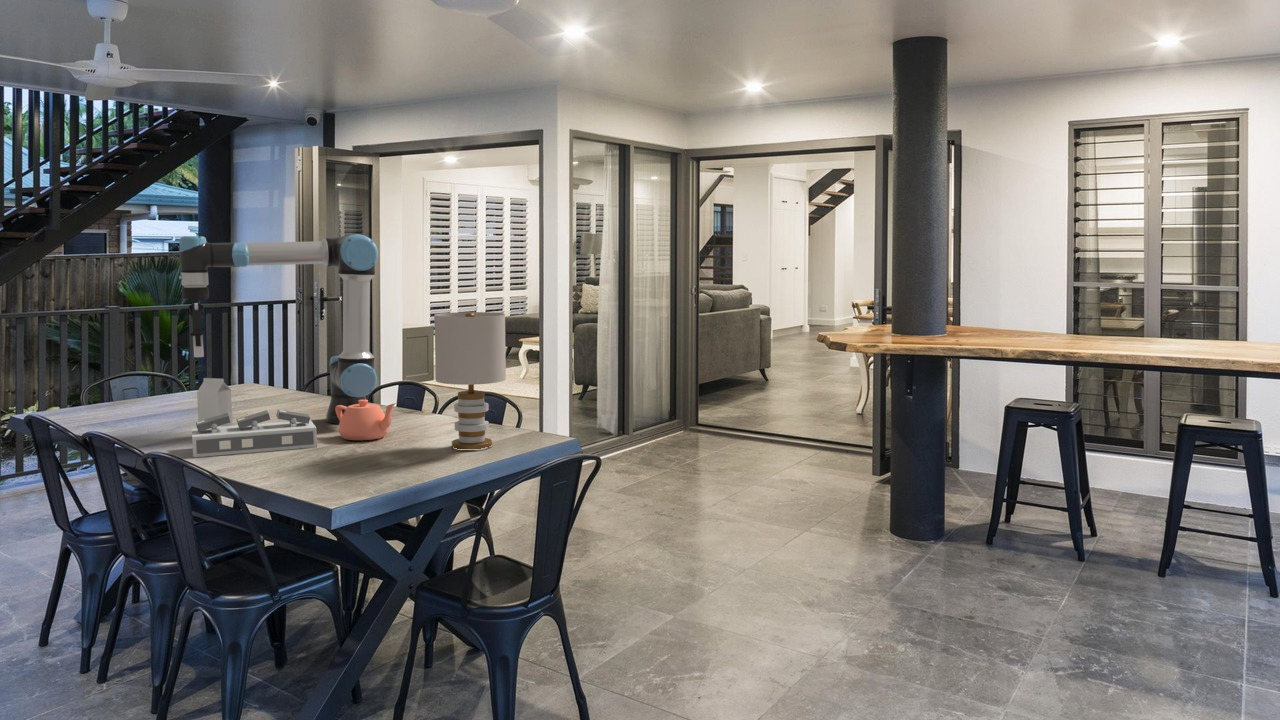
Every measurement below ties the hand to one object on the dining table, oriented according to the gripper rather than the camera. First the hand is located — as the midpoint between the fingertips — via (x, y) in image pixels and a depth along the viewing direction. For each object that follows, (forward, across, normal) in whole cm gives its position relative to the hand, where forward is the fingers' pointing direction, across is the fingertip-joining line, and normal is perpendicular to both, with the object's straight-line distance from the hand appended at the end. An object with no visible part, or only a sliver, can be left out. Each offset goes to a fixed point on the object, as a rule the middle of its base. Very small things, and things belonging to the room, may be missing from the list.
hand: (198, 354), depth 289 cm
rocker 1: (+19, +20, +3) cm, 27 cm away
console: (+27, +19, +14) cm, 36 cm away
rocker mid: (+19, +19, +14) cm, 31 cm away
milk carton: (+27, -2, +4) cm, 27 cm away
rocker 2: (+19, +19, +25) cm, 37 cm away
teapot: (+27, +18, +47) cm, 57 cm away
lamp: (+27, +45, +74) cm, 91 cm away
